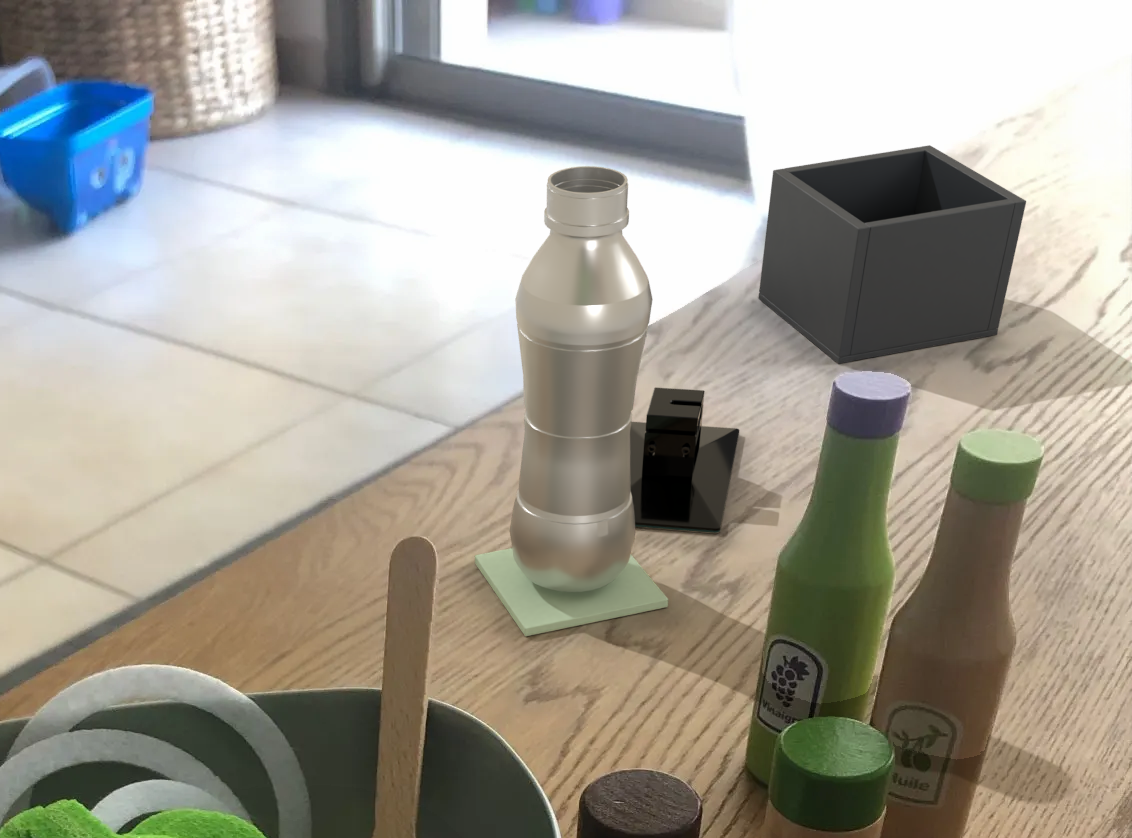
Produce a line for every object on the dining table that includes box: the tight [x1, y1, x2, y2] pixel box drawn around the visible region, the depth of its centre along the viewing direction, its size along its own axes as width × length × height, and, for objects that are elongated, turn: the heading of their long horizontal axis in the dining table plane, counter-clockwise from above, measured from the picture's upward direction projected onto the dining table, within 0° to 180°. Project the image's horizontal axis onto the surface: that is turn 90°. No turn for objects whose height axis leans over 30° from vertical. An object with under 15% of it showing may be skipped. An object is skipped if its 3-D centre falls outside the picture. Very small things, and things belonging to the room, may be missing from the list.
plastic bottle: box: [508, 165, 653, 592], centre depth 80 cm, size 6×7×20 cm
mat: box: [474, 547, 669, 637], centre depth 87 cm, size 8×8×1 cm
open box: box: [757, 145, 1027, 364], centre depth 108 cm, size 12×12×8 cm
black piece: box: [630, 387, 740, 534], centre depth 94 cm, size 12×7×5 cm, turn 166°
